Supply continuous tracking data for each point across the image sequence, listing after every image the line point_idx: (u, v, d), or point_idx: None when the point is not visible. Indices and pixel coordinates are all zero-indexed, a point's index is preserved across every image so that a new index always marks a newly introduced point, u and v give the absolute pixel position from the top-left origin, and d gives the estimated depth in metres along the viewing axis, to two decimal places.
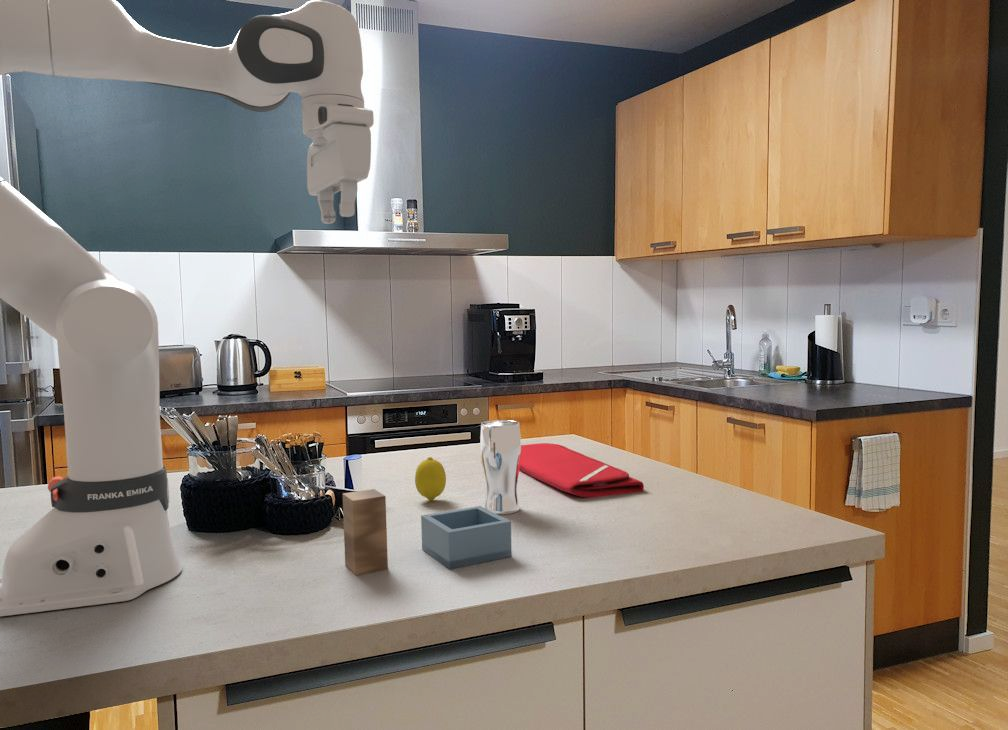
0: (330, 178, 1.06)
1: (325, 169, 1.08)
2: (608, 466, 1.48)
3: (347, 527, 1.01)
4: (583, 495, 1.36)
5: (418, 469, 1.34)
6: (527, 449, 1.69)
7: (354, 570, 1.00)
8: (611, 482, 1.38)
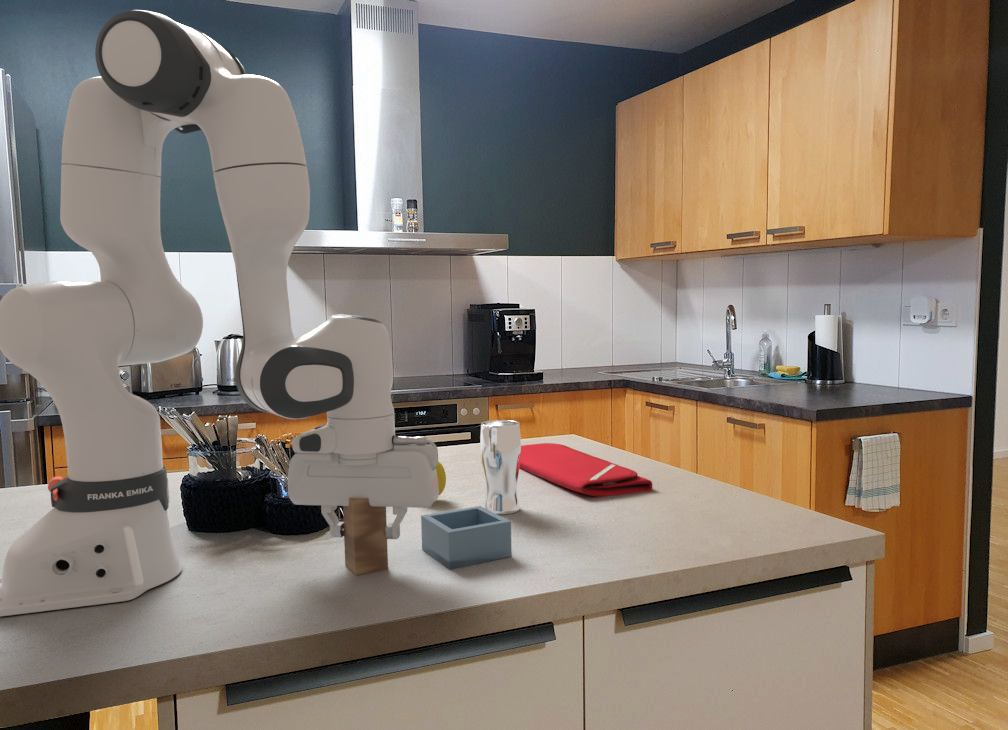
0: None
1: None
2: (615, 465, 1.48)
3: (347, 527, 1.01)
4: (594, 494, 1.36)
5: None
6: (530, 449, 1.69)
7: (354, 570, 1.00)
8: (620, 481, 1.39)
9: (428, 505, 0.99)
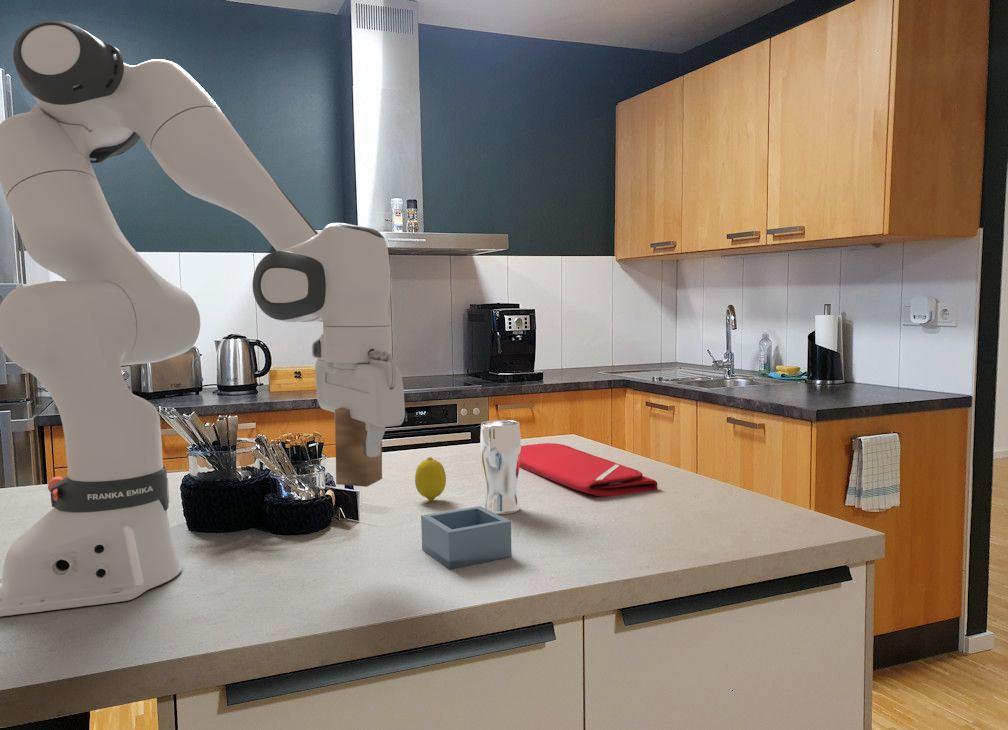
0: None
1: None
2: (619, 465, 1.49)
3: None
4: (600, 494, 1.36)
5: (418, 469, 1.34)
6: (532, 449, 1.69)
7: None
8: (626, 481, 1.39)
9: (378, 424, 0.92)
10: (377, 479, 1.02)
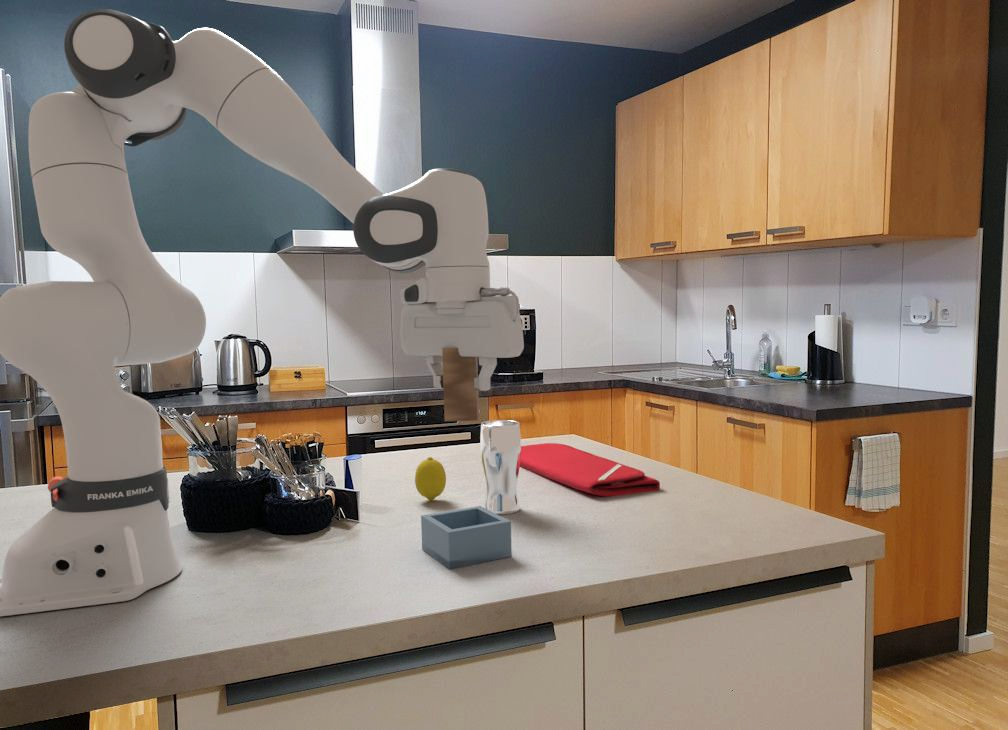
0: None
1: None
2: (621, 465, 1.49)
3: None
4: (602, 494, 1.36)
5: (418, 469, 1.34)
6: (534, 449, 1.69)
7: None
8: (628, 481, 1.39)
9: (505, 355, 0.98)
10: (478, 415, 1.06)
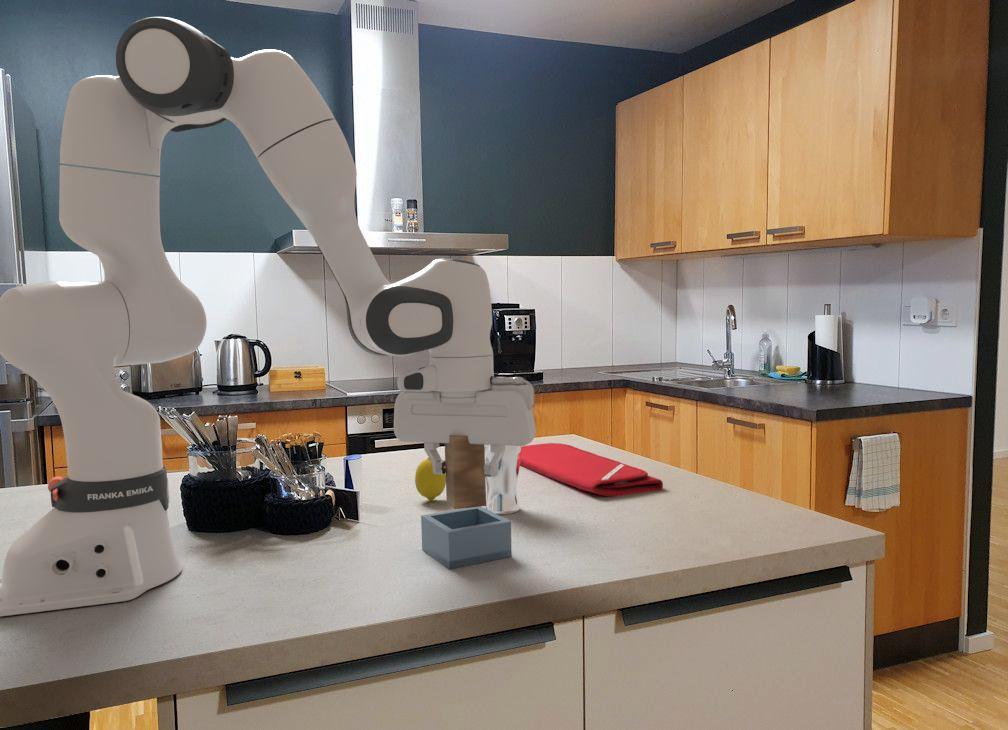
0: None
1: None
2: (624, 465, 1.49)
3: (448, 464, 1.06)
4: (606, 493, 1.36)
5: (418, 469, 1.34)
6: (536, 449, 1.69)
7: (454, 504, 1.04)
8: (631, 481, 1.39)
9: (524, 443, 1.01)
10: None
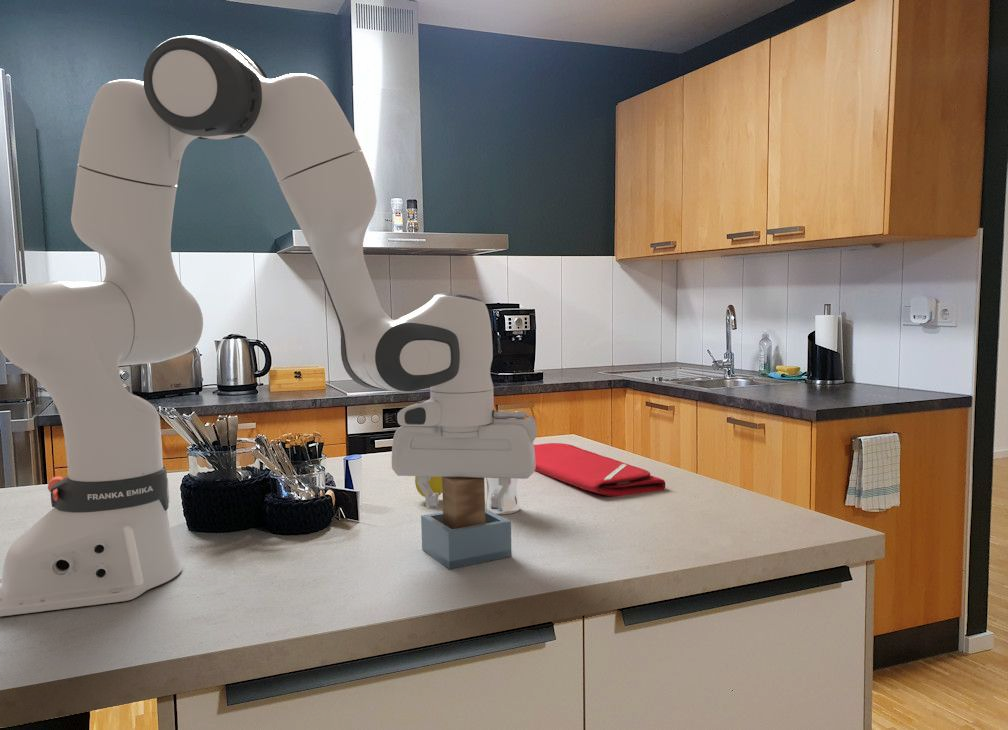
0: None
1: None
2: (626, 465, 1.49)
3: (447, 508, 1.06)
4: (608, 493, 1.36)
5: None
6: (538, 449, 1.69)
7: None
8: (634, 480, 1.39)
9: (527, 476, 1.03)
10: None
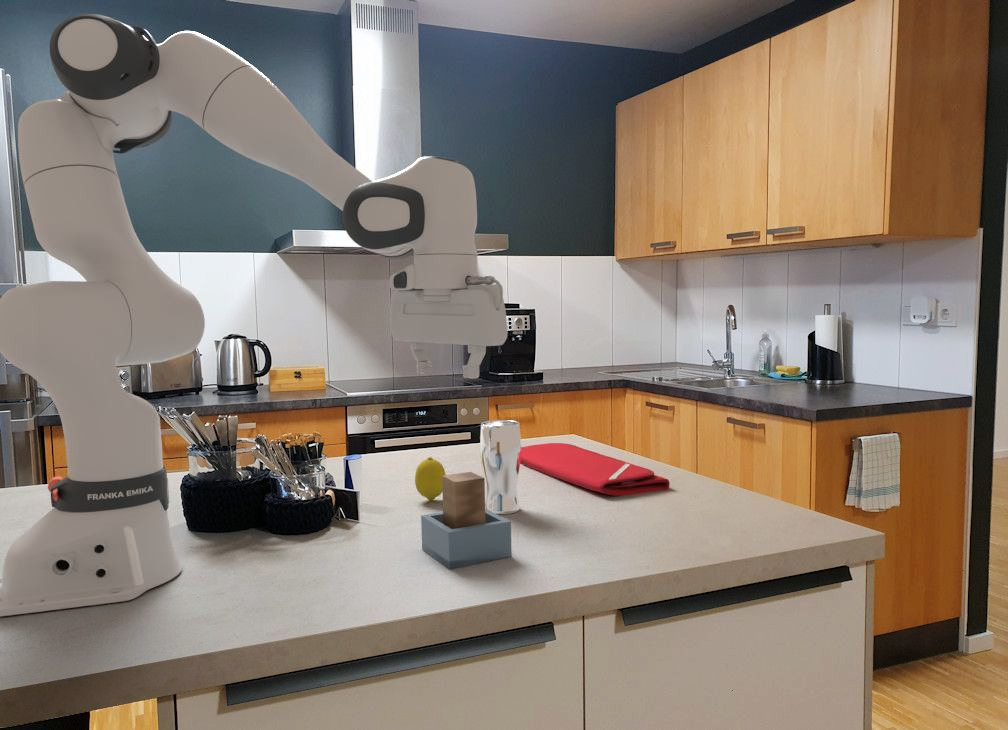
0: None
1: None
2: (630, 464, 1.49)
3: (447, 508, 1.06)
4: (613, 493, 1.36)
5: (418, 469, 1.34)
6: (540, 449, 1.69)
7: None
8: (638, 480, 1.39)
9: (487, 343, 0.99)
10: None
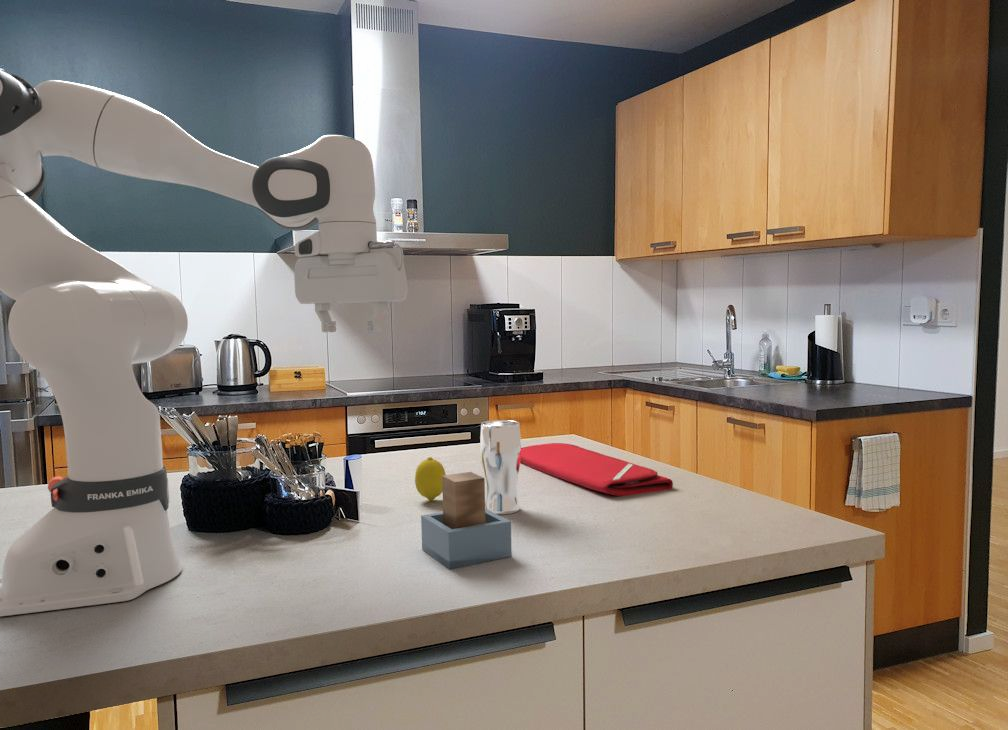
0: None
1: None
2: (633, 464, 1.49)
3: (447, 508, 1.06)
4: (617, 493, 1.36)
5: (418, 469, 1.34)
6: (541, 449, 1.69)
7: None
8: (642, 480, 1.39)
9: (391, 299, 1.12)
10: None
